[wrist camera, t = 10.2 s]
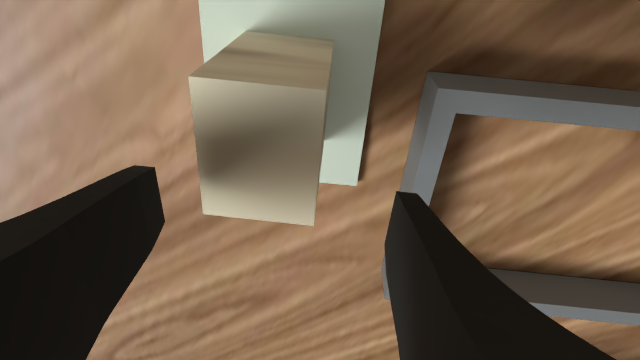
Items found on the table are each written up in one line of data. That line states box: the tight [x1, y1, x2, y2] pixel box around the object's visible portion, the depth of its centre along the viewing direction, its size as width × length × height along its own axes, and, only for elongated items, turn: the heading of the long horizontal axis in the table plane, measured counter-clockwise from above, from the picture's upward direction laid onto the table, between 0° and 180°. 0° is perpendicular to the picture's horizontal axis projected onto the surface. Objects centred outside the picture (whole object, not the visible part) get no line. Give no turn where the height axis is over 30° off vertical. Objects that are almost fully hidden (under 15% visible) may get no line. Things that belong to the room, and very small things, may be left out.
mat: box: [199, 0, 385, 186], centre depth 18 cm, size 10×8×1 cm
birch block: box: [188, 31, 334, 226], centre depth 15 cm, size 5×4×7 cm
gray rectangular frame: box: [382, 71, 640, 326], centre depth 20 cm, size 13×19×2 cm
